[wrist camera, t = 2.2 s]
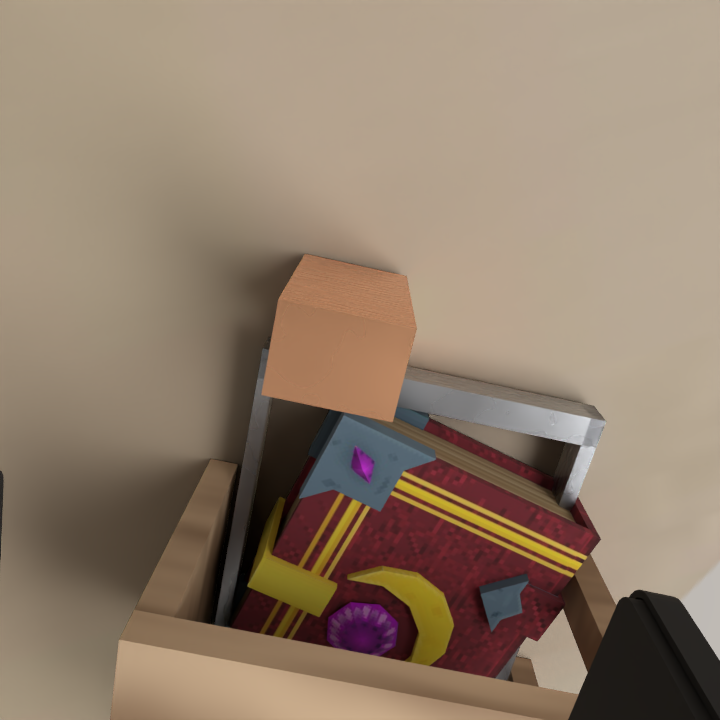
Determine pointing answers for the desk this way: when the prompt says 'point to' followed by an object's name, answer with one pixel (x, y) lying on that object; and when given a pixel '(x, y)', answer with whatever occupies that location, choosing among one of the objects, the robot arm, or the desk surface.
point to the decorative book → (413, 548)
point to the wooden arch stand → (303, 650)
